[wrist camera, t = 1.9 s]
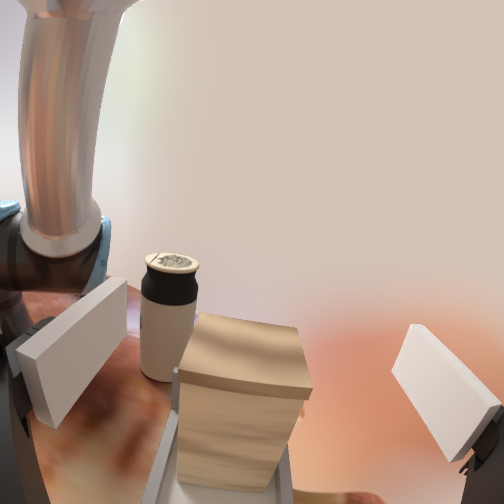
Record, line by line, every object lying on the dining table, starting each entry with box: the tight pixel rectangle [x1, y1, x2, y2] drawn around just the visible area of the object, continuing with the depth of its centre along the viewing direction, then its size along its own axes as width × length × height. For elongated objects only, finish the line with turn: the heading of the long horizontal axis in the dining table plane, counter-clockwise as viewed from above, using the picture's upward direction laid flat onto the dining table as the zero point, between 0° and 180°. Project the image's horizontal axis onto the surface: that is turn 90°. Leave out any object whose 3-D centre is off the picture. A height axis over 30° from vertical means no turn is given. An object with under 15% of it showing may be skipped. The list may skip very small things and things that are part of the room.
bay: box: [141, 367, 294, 504], centre depth 19 cm, size 26×14×9 cm, turn 0°
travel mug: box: [140, 253, 199, 382], centre depth 41 cm, size 8×8×18 cm
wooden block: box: [177, 312, 313, 493], centre depth 25 cm, size 9×9×16 cm
